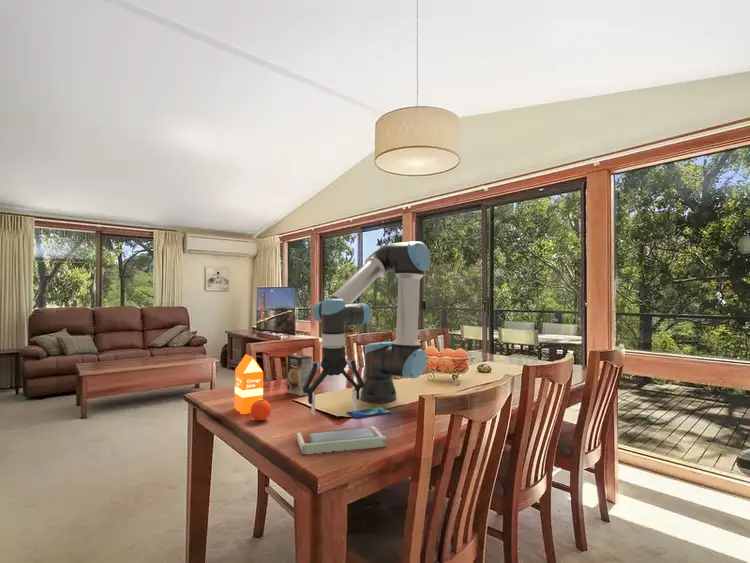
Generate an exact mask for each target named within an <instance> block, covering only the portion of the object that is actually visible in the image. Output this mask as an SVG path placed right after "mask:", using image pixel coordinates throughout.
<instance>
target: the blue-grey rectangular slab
mask: <svg viewBox="0 0 750 563" xmlns="http://www.w3.org/2000/svg"><path fill="white" fill-rule="evenodd" d="M367 437H375V436H374V434H373V433H372V432H371V429H369V428H368V427H367V428H356V429H348V430H347V429H345V430H336V431H326V432H315V433H314V432H313V433H310V434H309V443H313V442H324V441H335V440H346V439H357V438H367Z"/></svg>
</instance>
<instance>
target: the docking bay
mask: <svg viewBox="0 0 750 563" xmlns="http://www.w3.org/2000/svg"><path fill="white" fill-rule="evenodd" d="M370 431H371V432H372V433H373V434H374V436H375V437H367V438H357V439H346V440H335V441H324V442H313V443H311V442H306V443H305V441H304V437H303V435H302V432H301V431H300V432H297V434H296V435H297V436H296V440H297V443H298V446H300V447H299V450H300V449H301V450H300V452H302V453H301V455H302V454H306V455H315V454H314V453H316V454H323V453H322V452H326V453H333V452H332V451H335V452H345V451H353V450H355V451H356V450H364V449H375V448H385V447H387V437H386V436H385V435H383V434H382V433H381V432H380V430H378V429H377V428H376V427H375V425H373V426H370ZM344 450H345V451H344Z"/></svg>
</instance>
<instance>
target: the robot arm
mask: <svg viewBox="0 0 750 563" xmlns="http://www.w3.org/2000/svg"><path fill="white" fill-rule="evenodd" d="M430 254H431V253H430V251H429V249H428V247H427V245H426V244H425V243H423V242H422V241H416V240H415V241H414V240H413V241H412V240H410V241H403V242H393V243H392V242H390V243H387V244H385V245H383V246H381V247H379V248H378V249H376V250H375V251H374V252H373V253H371V254H370V255H369V256H368V257H367V258H366V259H365V260H364V264H363V265H362V266H361V267H360V268H359V269H357V271H356V272H355V273H354V274H352V275H351V276H350V278H348V279H347V280H346V282H344V283H343V284H342V285H341V286H340V287H339V288H338V289H337V290H336V291H335V292H334V293H333V294H331V296H330V297H328V298H325V299H323V300H322V301H319V302H316V303H315V304H314V305H313V307H312V309H311V310H312V312H311V313H312V317H313V319H314V320H315V321H316V322H319V323H321V346H323V347H322V348H321V362H316V361H312V369H311V371H310V373H309V375H308V378H307V380H306V382H305V384H304V386H303V388H302V390H303V392H304V393H308V394H307V402H308V405H311V407H310V408H311V414H312V415H313V416H315V415H316V393H315V391H316V389H317V388H318V387H319V385H320V384H321V383H322V382H323V380H324V379H325V378H327V376H329V377H331V376H340V375H343V376H344V378H346V380H347V381H348V382H349V384H351V385H352V387H353V388H352V389H351V392H352V393H351V398H352V399H351V400H352V403H351V404H352V405H351V406H352V411H358V409H357V407H358V405H357V400H360V399H361V400H363V401H366V402H371V403H388V402H393V401H395V400H397V390H396V387H395V383H394V380H393V378H394V377H400V378H404V379H412V380H413V379H417V378H419V377H420V376H421V375H422V374H423V372H424V371H425V369H426V366H427V363H428V362H427V361H428V356H427V354H426V351H425V350H423V349H422V343H421V342H420V341H419V340H418V339H419V338H418V337H419V336H418V335H419V312H420V310H419V308H420V307H419V306H420V288H421V287H420V285H421V279H422V278H423V277H424V276H425V271H427V270H428V269H429V268H430V267H431V266H430V265H431V255H430ZM388 272H394V275H395V276H396V277H397V279H398V284H397V288H398V289H397V307H396V308H397V310H396V328H395V330H396V332H395V339H394V340H393V341H382V342H381V341H380V342H373V343H371V342H370V343H367V344H366V346H365V350H364V380H363V379H362V377H361V375H360V373H359V371H358V369H357V366H356V361H355V360H354V359H352V358H351V359H350V360H346V347H345V345H346V327H351V326H361V325H365V324H367V323H369V322H370V320H371V317H372V311H371V308H370V306H369V305H368V304H367V303H364V302H355V301H356V300H357V299H358V298H359V297H360V296H361V295H362V294H363V293H364V292H365V291H366V290H367V289H368V288H369V287H370V286H371V285H372V284H373V282H375V281H376V279H377V278H382V277H383V276H384V275H386V273H388ZM354 302H355V303H354ZM347 366H348V367H349V368H350V369H351V371H352V372H353V375H354V376H355V379H356V381H357V382H358V383H356V381H355V380H354V379H353V378H352V377H351V376H350V374H348V373H347V371H346V370H345V369H346V367H347ZM320 367H321V368H322V370H321V372H320V374H318V376H317V378H316V379H315V380H314V378H315V375H316V373H317V371H318V370H319V368H320ZM313 380H314V381H313ZM312 382H313V383H312ZM310 384H311V387H310V388H309V386H310ZM308 388H309V389H308Z"/></svg>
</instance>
